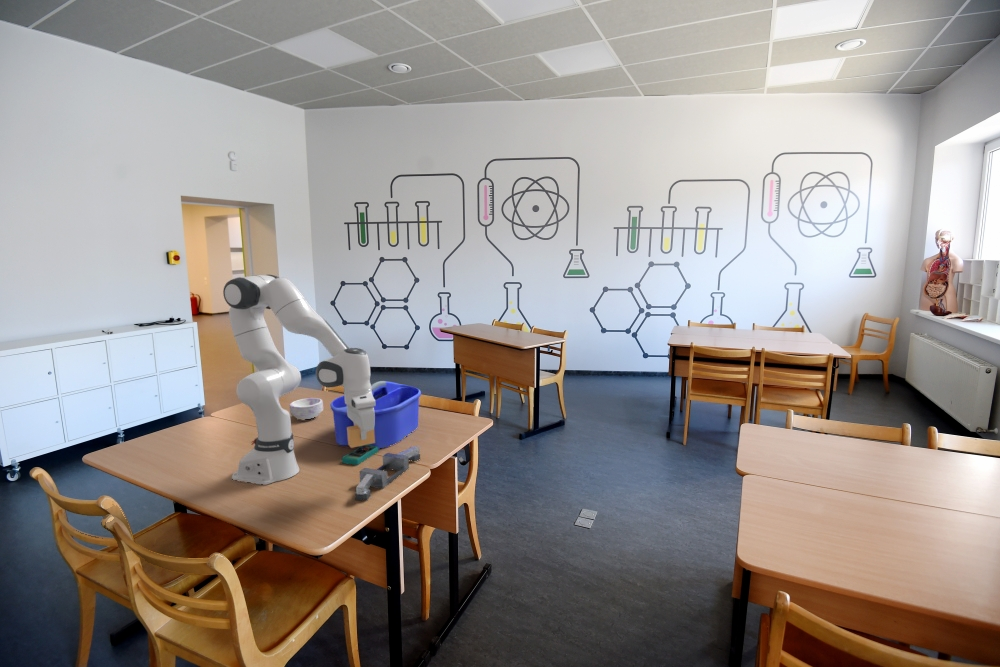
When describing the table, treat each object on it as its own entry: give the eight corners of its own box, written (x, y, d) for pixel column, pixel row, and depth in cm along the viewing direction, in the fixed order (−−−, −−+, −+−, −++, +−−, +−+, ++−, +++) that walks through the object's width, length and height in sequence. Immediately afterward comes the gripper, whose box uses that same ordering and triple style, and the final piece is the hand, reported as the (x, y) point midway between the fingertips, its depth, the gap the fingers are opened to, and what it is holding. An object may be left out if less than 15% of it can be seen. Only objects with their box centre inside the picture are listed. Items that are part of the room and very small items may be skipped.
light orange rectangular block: (351, 447, 166) (350, 430, 165) (348, 444, 169) (346, 427, 168) (375, 442, 170) (373, 425, 169) (371, 439, 173) (370, 422, 173)
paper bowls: (283, 421, 242) (282, 405, 240) (304, 411, 256) (303, 396, 255) (310, 423, 237) (309, 407, 236) (330, 414, 252) (329, 398, 250)
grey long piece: (365, 502, 160) (364, 487, 160) (341, 498, 163) (340, 483, 163) (422, 458, 194) (421, 446, 194) (402, 455, 198) (401, 443, 197)
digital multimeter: (379, 452, 203) (379, 445, 202) (357, 466, 189) (356, 459, 188) (364, 450, 205) (364, 443, 205) (341, 464, 191) (340, 456, 191)
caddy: (433, 420, 239) (431, 372, 236) (385, 456, 197) (382, 398, 194) (374, 415, 249) (372, 369, 245) (317, 448, 207) (313, 393, 203)
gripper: (340, 391, 174) (343, 429, 177) (357, 405, 157) (360, 447, 159) (358, 388, 178) (361, 426, 180) (377, 402, 160) (379, 443, 162)
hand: (361, 436), depth 169 cm, fingers closed on light orange rectangular block, 4 cm apart
